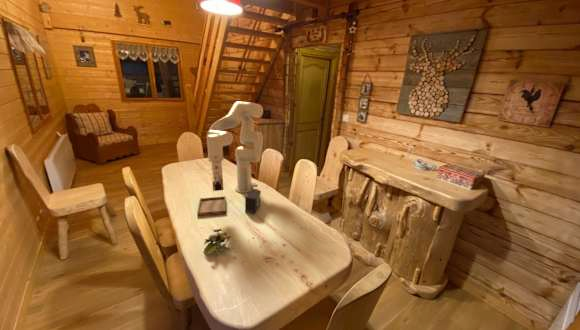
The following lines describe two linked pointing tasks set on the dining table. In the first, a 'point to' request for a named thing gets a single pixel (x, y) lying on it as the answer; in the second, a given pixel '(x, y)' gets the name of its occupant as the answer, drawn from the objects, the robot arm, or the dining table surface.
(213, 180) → the walnut cube
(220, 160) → the robot arm
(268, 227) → the dining table surface
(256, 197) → the small box
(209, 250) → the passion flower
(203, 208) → the walnut tray
